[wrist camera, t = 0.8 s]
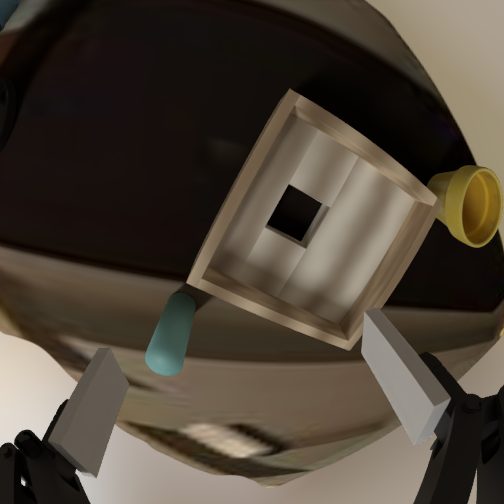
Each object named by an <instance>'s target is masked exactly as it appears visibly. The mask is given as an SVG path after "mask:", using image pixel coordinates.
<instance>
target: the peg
mask: <svg viewBox="0 0 504 504" xmlns="http://www.w3.org/2000/svg"><path fill="white" fill-rule="evenodd" d="M195 310H196V303H195V301H194V299H193V298H192V297H191V296H189V295H188V294H185V293H175V294H173V295H171V296H170V298H169V299H168V302H167V304H166V306H165V309H164V311H163V313H162V316H161V318H160V320H159V323H158V325H157V327H156V330H155V332H154V335H153V337H152V339H151V342H150V344H149V347H148V349H147V352H146V354H145V361H146V363H147V365H148V367H149V368H150V369H151V370H153V371H154V372H156V373H158V374H161V375H165V376H172V375H175V374H178V373H179V372H180V371H181V370H182V367H183V362H184V358H185V353H186V349H187V344H188V340H189V335H190V331H191V327H192V322H193V318H194V314H195Z"/></svg>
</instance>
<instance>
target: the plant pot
mask: <svg viewBox="0 0 504 504" xmlns="http://www.w3.org/2000/svg"><path fill="white" fill-rule="evenodd" d="M427 188H428V189H429V190H430V191H431V192H432V193H433V194H434V195H435V196H436V197H437V198H438V199H439V200H440V201H441V202H442V206H441V208H440V210H439V212H438V214H437V216H436V218H438V219H439V220H440V221H441V222H443V223H444V224H445V225H446V226H447V227H448V229H449V231H450V232H451V234H452V235H453V236H454V237H455V238H457V239H458V240H460V241H462V242H464V243H465V244H467V245H469V246H472V247H481V246H484V245H485V244H487V243H488V242H489V241H490V240H491V239H492V237H493V236H494V234H495V233H496V231H497V229H498V226H499V224H500V220H501V216H502V210H503V195H502V189H501V185H500V182H499V180H498V178H497V176H496V175H495V174H494V172H492V171H491V170H490V169H488V168H485V167H479V166H471V165H467V166H463V167H461V168H460V169H458V170H457V171H452V172H445V173H439V174H436V175H434V176H433V177H432V178H431V179H430V180H429V182H428V184H427Z"/></svg>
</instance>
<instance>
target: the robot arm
mask: <svg viewBox="0 0 504 504" xmlns="http://www.w3.org/2000/svg"><path fill="white" fill-rule="evenodd" d="M19 3H20V0H0V31H1V30H3V29H4V27H5V24H6V23H7V21H8V20H9V18H10V17H11V16H12V14H13V13H14V11H15V10H16V9H17V7H18V6H19ZM16 103H17V96H16V89H15V85H14V83H13V82H12V80H11V79H10V78H8V77H4V76H0V151H1V150H2V148H3V147H4V145H5V143H6V141H7V139H8V137H9V134H10V132H11V129H12V125H13V122H14V117H15V112H16ZM361 353H362V355H363V357H364V358H365V360H366V362H367V363H368V365H369V367H370V368H371V370H372V372H373V374H374V375H375V377H376V379H377V380H378V382H379V384H380V386H381V387H382V389H383V391H384V393H385V394H386V396H387V398H388V400H389V402H390V403H391V405H392V407H393V409H394V411H395V412H396V414H397V416H398V418H399V420H400V421H401V423H402V425H403V427H404V429H405V431H406V432H407V434H408V436H409V438H410V440H411V442H412V444H413V446H416V445H418V444H420V443H423V442H425V441H427V440H428V439H430V437H431V436H432V434H433V432H434V433H435V434H436V436H437V439H436V440H435V442H434V443H433V445H432V447H431V448H430V450H432V449H433V451H432V455H431V458H430V461H429V464H428V467H427V470H426V473H425V476H424V479H423V481H422V484H421V487H420V489H419V492H418V494H417V496H416V499H415V501H414V503H413V504H467V503H468V500H469V496H470V493H471V489H472V486H473V482H474V478H475V474H476V469H477V501H476V504H504V385H503V386H502V387H501V388H500V390H499V392H498V394H496V395H493V396H489V397H485V398H480V397H479V396H478V395H475V394H467V393H466V392H465V391H464V390H463V389H462V388H461V386H460V385H459V384H458V383H457V381H456V380H455V379H454V378H453V377H452V375H451V374H450V373H449V372H447V369H446V368H445V367H444V366H442V363H441V362H440V361H439V360H438V359H437V358H436V357H435V356H433V355H432V354H430V353H428V352H425V353H422V354H420V355H417V353H416V352H415V351H414V350H413V349H412V347H411V346H410V345H409V344H408V342H407V341H406V340H405V339H404V338H403V336H402V335H401V334H400V333H399V332H398V330H397V329H396V328H395V327H394V326H393V325H392V323H391V322H390V321H389V320H388V319H387V318H386V316H385V315H384V314H383V313H382V312H381V311H380V309H379V308H374V309H370V310H366V311H364V325H363V339H362V351H361ZM128 387H129V383H128V381H127V379H126V378H125V376H124V374H123V372H122V370H121V368H120V367H119V365H118V363H117V361H116V359H115V357H114V355H113V353H112V351H111V349H110V348H99V349H98V350H97V352H96V354H95V355H94V357H93V359H92V360H91V362H90V364H89V365H88V367H87V369H86V370H85V372H84V374H83V376H82V377H81V379H80V381H79V383H78V384H77V386H76V388H75V390H74V391H73V393H72V395H71V397H70V399H66V400H65V401H64V402H63V403H62V404H61V405H60V407H59V408H58V410H57V412H56V415H55V416H54V418H53V421H51V423H50V425H49V427H48V429H47V431H46V433H45V435H44V437H43V439H42V441H41V440H40V439H39V438H38V437H37V436H36V435H35V434H34V433H33V432H32V431H31V430H23V431H21V432H20V433H19V434H18V435H17V436H16V438H15V440H14V445H15V446H16V447H17V448H18V449H17V448H16V447H15V446H14V445H13V444H12V443H5V444H3V445H2V446H1V447H0V504H90V502H89V500H88V498H87V496H86V493H85V491H84V489H83V487H82V485H81V482H80V480H79V477H78V476H77V475H76V474H75V471H76V469H77V470H78V471H80V472H81V473H82V474H83V475H86V476H89V477H94V478H97V475H98V472H99V469H100V466H101V463H102V459H103V456H104V453H105V450H106V447H107V444H108V442H109V439H110V436H111V433H112V430H113V427H114V424H115V422H116V419H117V416H118V413H119V411H120V408H121V405H122V403H123V400H124V397H125V395H126V392H127V390H128ZM21 479H22V480H23V481H25V486H23V485H22V484H21Z"/></svg>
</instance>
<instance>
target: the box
mask: <svg viewBox="0 0 504 504" xmlns="http://www.w3.org/2000/svg"><path fill="white" fill-rule="evenodd" d="M288 184H290V185H292V186H293V187H295V188H297V189H299V190H300V191H302V192H304V193H306V194H307V195H309V196H311V197H312V198H314V199H316V200H317V201H319V202H321V203H322V206H321V208H320V209H319V211H318V213H317V215H316V216H315V218H314V220H313V222H312V223H311V225H310V227H309V228H308V230H307V232H306V234H305V235H304V237H303V239H302V240H301V242H300V241H298V240H296V239H294V238H292V237H290V236H289V235H287V234H285V233H283V232H281V231H279V230H277V229H275V228H273V227H271V226H270V225H268V224H267V222H268V220H269V218H270V217H271V215H272V213H273V211H274V209H275V208H276V206H277V204H278V202H279V200H280V199H281V197H282V195H283V193H284V191H285V190H286V188H287V186H288ZM441 206H442V202H441V201H440V200H439V199H438V198H437V197H436V196H435V195H434V194H433V193H432V192H431V191H430V190H429V189H428V188H427V187H426V186H424V185H423V184H422V183H421V182H420V181H419V180H418V179H417V178H416V177H414V176H413V175H412V174H411V173H410V172H409V171H408V170H406V169H405V168H404V167H403V166H402V165H400V164H399V163H398V162H397V161H396V160H394V159H393V158H392V157H391V156H389V155H388V154H387V153H386V152H384V151H383V150H382V149H381V148H379V147H378V146H377V145H375V144H374V143H373V142H371V141H370V140H369V139H367V138H366V137H365V136H363V135H362V134H360V133H359V132H358V131H356V130H355V129H353V128H352V127H350V126H349V125H348V124H346V123H345V122H343V121H342V120H340V119H339V118H337V117H336V116H334V115H333V114H331V113H329V112H328V111H326V110H325V109H323V108H321V107H320V106H318V105H317V104H315V103H313V102H312V101H310V100H308V99H307V98H305V97H303V96H301V95H300V94H298V93H296V92H294V91H292V90H291V89H289V90H288V92H287V93H286V94H285V95H284V97H283V98H282V99H281V101H280V102H279V103H278V105H277V107H276V108H275V110H274V112H273V113H272V115H271V117H270V119H269V120H268V122H267V124H266V126H265V127H264V129H263V131H262V133H261V134H260V136H259V138H258V140H257V142H256V143H255V145H254V147H253V149H252V151H251V152H250V154H249V156H248V158H247V160H246V161H245V163H244V165H243V167H242V169H241V171H240V173H239V174H238V176H237V178H236V180H235V182H234V184H233V186H232V188H231V189H230V191H229V193H228V195H227V197H226V199H225V201H224V203H223V205H222V207H221V209H220V211H219V213H218V215H217V217H216V218H215V220H214V222H213V224H212V226H211V228H210V230H209V232H208V234H207V236H206V238H205V240H204V242H203V245H202V247H201V249H200V251H199V253H198V255H197V257H196V259H195V261H194V264H193V266H192V269H191V272H190V274H189V277H188V280H187V282H186V283H187V284H190V285H192V286H194V287H196V288H198V289H200V290H203V291H205V292H207V293H209V294H211V295H214V296H216V297H218V298H220V299H222V300H225V301H227V302H229V303H231V304H234V305H236V306H238V307H241V308H243V309H245V310H248V311H250V312H252V313H255V314H257V315H259V316H262V317H264V318H267V319H269V320H271V321H274V322H276V323H279V324H281V325H284V326H286V327H289V328H291V329H294V330H296V331H299V332H301V333H304V334H306V335H309V336H311V337H314V338H317V339H319V340H322V341H325V342H327V343H330V344H333V345H335V346H338V347H341V348H344V349H346V350H349V351H350V349H351V348H352V347H353V346H354V344H355V343H356V342H357V341H358V339H359V338H360V337H361V335H362V334H363V325H364V311H366V310H370V309H374V308H379V309H381V308H382V306H383V305H384V303H385V302H386V301H387V299H388V298H389V296H390V295H391V293H392V292H393V290H394V289H395V287H396V285H397V284H398V282H399V281H400V279H401V278H402V276H403V274H404V273H405V271H406V270H407V268H408V266H409V265H410V263H411V261H412V260H413V258H414V256H415V254H416V253H417V251H418V249H419V248H420V246H421V244H422V242H423V240H424V239H425V237H426V235H427V233H428V231H429V229H430V227H431V225H432V224H433V222H434V220H435V218H436V216H437V214H438V212H439V210H440V208H441Z"/></svg>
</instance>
